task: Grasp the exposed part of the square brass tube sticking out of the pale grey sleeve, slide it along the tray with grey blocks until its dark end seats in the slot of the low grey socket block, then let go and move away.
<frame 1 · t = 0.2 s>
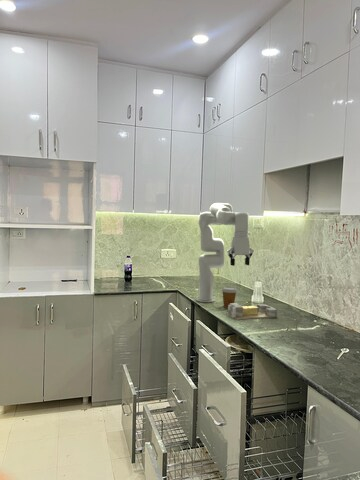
hand: (239, 265, 206), 30 cm above the worktop, tool pointing down, fingers open, 9 cm apart
brass tube: (245, 310, 215), point 3 cm above the worktop, slide at 0.0 cm
tray with grey blocks: (249, 315, 216), on the worktop
disposable coffee cup: (228, 307, 235), on the worktop
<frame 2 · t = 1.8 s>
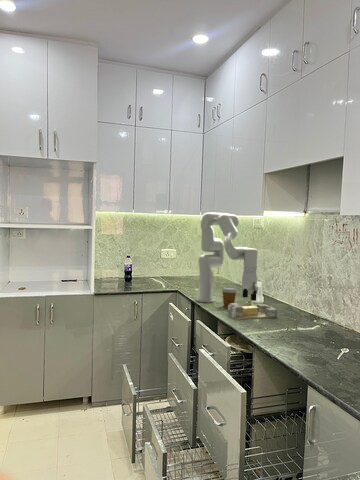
hand: (249, 298, 214), 10 cm above the worktop, tool pointing down, fingers open, 9 cm apart
nothing on the worktop moved.
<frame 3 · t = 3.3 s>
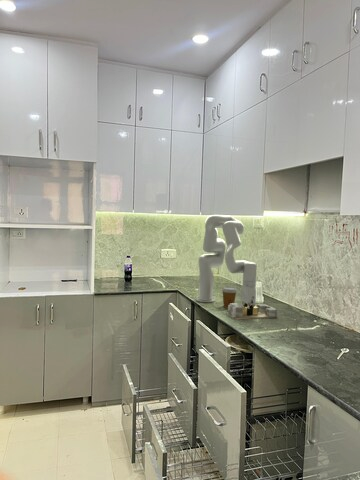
hand: (247, 314, 215), 1 cm above the worktop, tool pointing down, fingers closed on brass tube, 4 cm apart
brass tube: (245, 310, 215), point 3 cm above the worktop, slide at 0.0 cm, touching gripper
everything else where it was.
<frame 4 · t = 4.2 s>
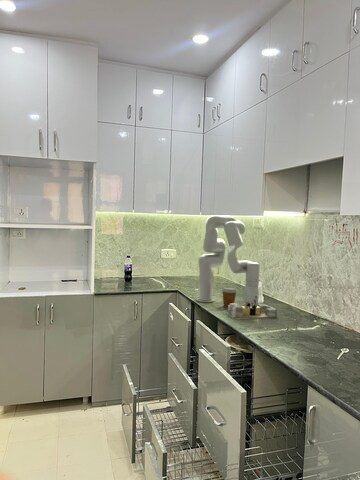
hand: (250, 313, 216), 1 cm above the worktop, tool pointing down, fingers closed on brass tube, 4 cm apart
brass tube: (248, 310, 215), point 3 cm above the worktop, slide at 1.9 cm, touching gripper
everything else where it was.
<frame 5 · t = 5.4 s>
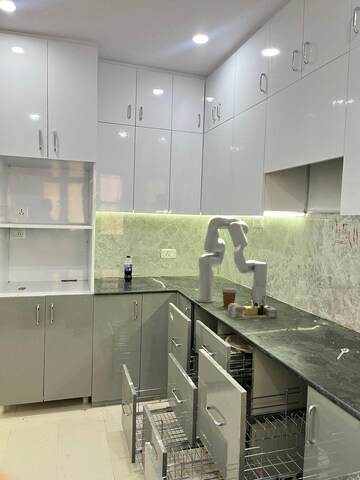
hand: (258, 313, 218), 1 cm above the worktop, tool pointing down, fingers closed on brass tube, 4 cm apart
brass tube: (255, 310, 217), point 3 cm above the worktop, slide at 7.0 cm, touching gripper
everything else where it was.
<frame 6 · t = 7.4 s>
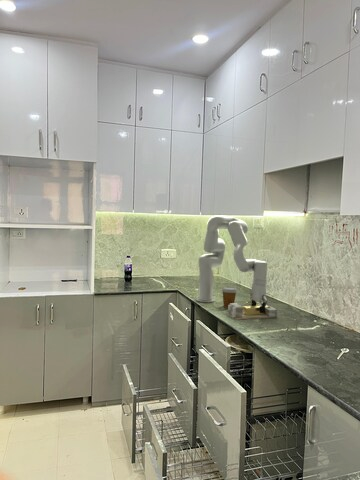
hand: (257, 310, 218), 2 cm above the worktop, tool pointing down, fingers open, 9 cm apart
brass tube: (255, 310, 217), point 3 cm above the worktop, slide at 7.0 cm
everything else where it was.
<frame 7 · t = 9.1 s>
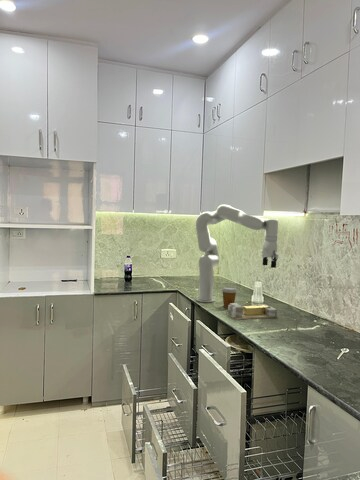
hand: (269, 266, 228), 27 cm above the worktop, tool pointing down, fingers open, 9 cm apart
nothing on the worktop moved.
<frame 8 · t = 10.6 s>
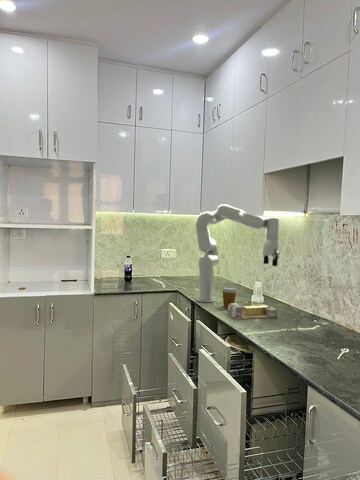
hand: (270, 264, 229), 28 cm above the worktop, tool pointing down, fingers open, 9 cm apart
nothing on the worktop moved.
at the end: brass tube slide at 7.0 cm; the gripper is holding nothing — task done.
